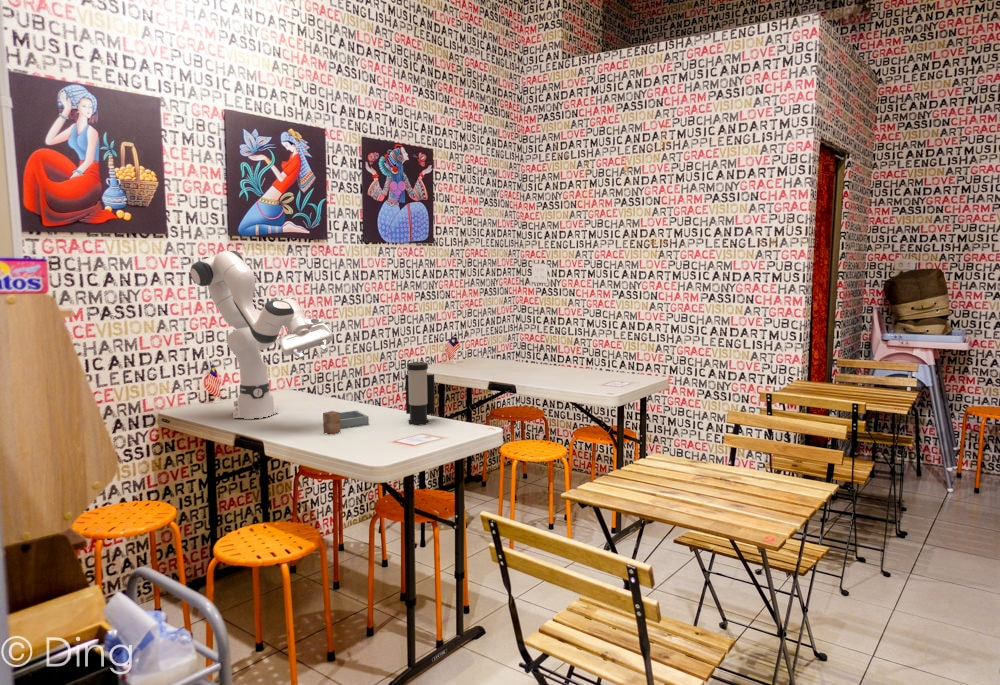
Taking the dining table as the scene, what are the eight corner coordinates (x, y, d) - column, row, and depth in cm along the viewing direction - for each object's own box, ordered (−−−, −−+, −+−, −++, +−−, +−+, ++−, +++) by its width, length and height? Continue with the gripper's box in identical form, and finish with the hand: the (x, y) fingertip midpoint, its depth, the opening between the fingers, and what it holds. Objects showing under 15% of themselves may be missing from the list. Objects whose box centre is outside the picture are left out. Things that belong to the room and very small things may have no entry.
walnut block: (323, 433, 268) (322, 412, 267) (332, 430, 272) (332, 410, 271) (331, 434, 265) (330, 414, 264) (340, 432, 269) (339, 412, 268)
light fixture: (402, 425, 280) (401, 365, 277) (406, 419, 291) (405, 361, 288) (431, 425, 279) (430, 365, 276) (435, 419, 290) (434, 361, 287)
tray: (325, 422, 285) (325, 414, 285) (356, 418, 292) (356, 410, 292) (336, 429, 274) (336, 420, 273) (368, 424, 281) (368, 416, 280)
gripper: (274, 333, 267) (286, 357, 260) (324, 317, 276) (338, 340, 269) (276, 343, 272) (288, 368, 265) (325, 327, 281) (338, 351, 273)
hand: (313, 354), depth 267 cm, fingers open, 8 cm apart
